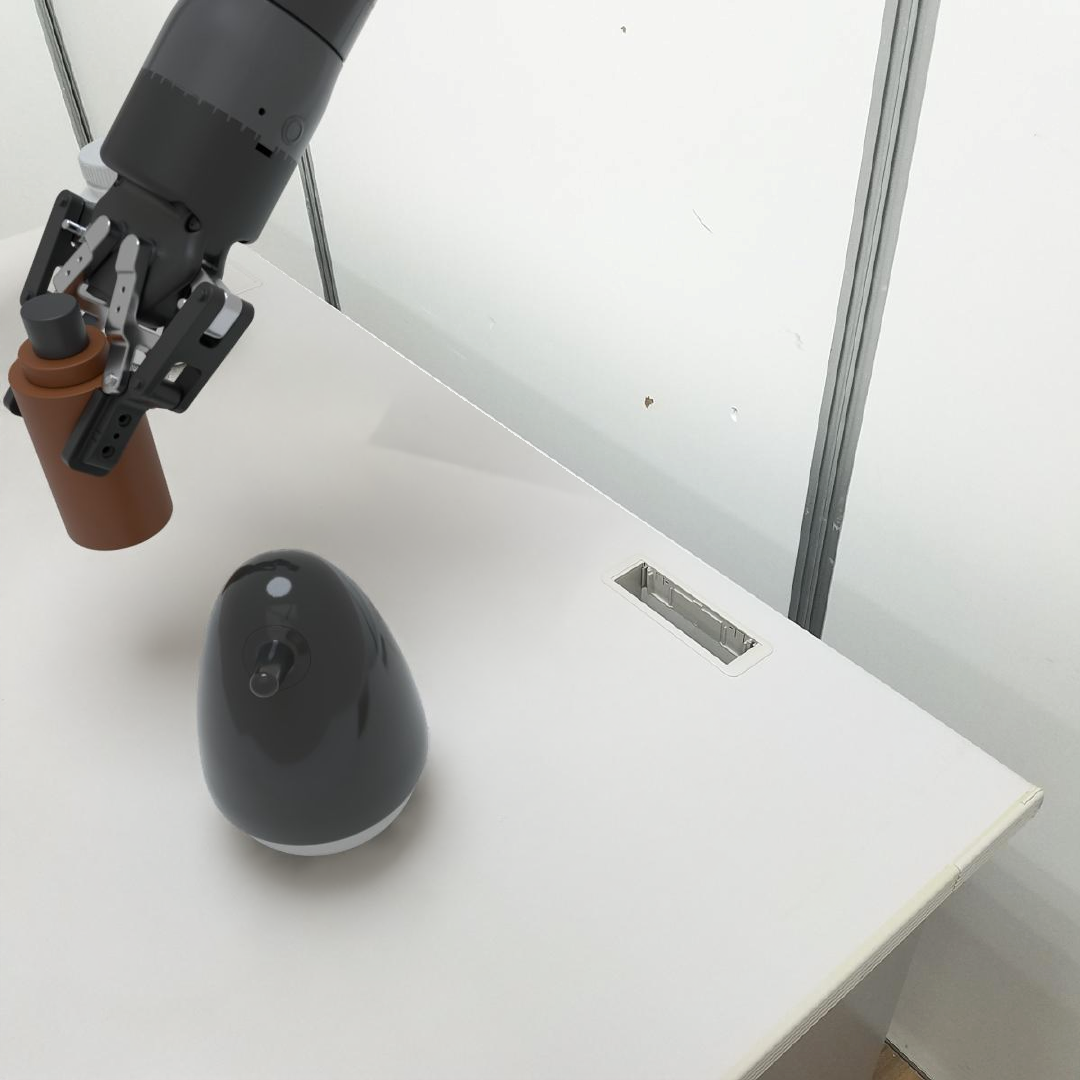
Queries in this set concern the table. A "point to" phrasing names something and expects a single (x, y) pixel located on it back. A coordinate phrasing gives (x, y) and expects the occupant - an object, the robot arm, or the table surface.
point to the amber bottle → (52, 413)
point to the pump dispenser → (306, 707)
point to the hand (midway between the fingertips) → (53, 440)
